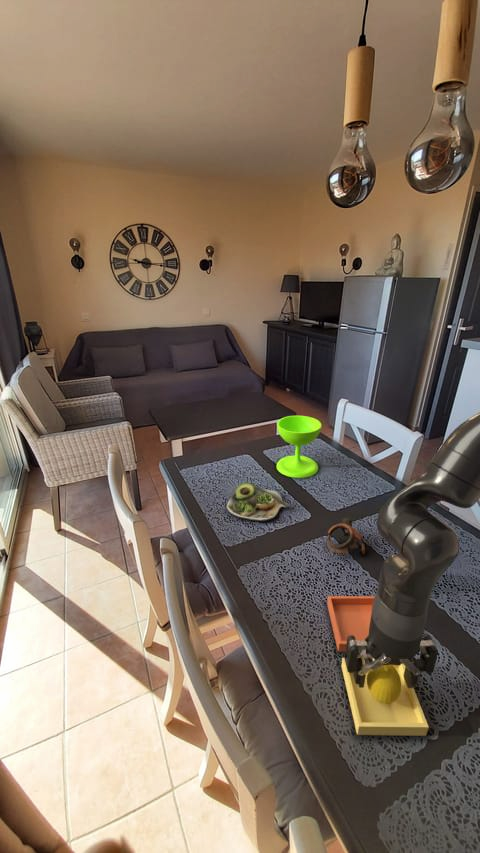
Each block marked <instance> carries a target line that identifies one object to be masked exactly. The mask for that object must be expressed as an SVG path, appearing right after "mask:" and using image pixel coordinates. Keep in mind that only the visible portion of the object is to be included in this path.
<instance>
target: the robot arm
mask: <svg viewBox="0 0 480 853" xmlns="http://www.w3.org/2000/svg"><path fill="white" fill-rule="evenodd" d="M479 500H480V412H478V413H476V414H474V415H472V416H471V417H469V418H467V419H466V420H465V421H463V422H462V423H461V424H460V425H458V426H457V427H456V428H455V429H454V430H452V432H450V434H449V435H448V436H447V438H446V439H445V441H444V442H443V443H442V445H441V446H440V447H439V449H438V450H437V452H436V453H435V454H434V456H433V457H432V459H431V461H430V462H429V463H428V465H427V466H426V468H425V469H424V470H423V471H422V472H421V473H420V474H418V475H417V476H415V478H414V479H412V480H411V481H410V482H409V483H407V484H406V486H404V487H403V488H402V489H401V490H399V491H398V492H397V493H395V494H394V495H393V496H392V497H390V498H389V499H388V500H387V501H386V502H385V503H384V504H383V506H382V507H381V508H380V509H379V510H380V511H379V512H378V515H377V520H376V527H377V528H376V529H377V531H378V534H379V535H380V536H381V538H382V539H383V540H384V541H385V542H386V543H387V544H389V545H390V546H391V547H392V548H393V549H394V550H395V551H396V552H398V553H393V554H390V555H389V556H387V557H386V558H385V559H384V560H383V562H382V565H381V568H380V573H379V578H378V585H377V589H376V592H375V595H374V596H375V597H374V602H373V605H372V614H371V620H370V625H369V635H368V636H367V637H366V639H365V641H362V640H355V637H354V636H353V635H350V636H348V638H347V643H346V649H345V652H344V655H343V658H345V663H346V667H347V671H348V672H349V673H353V676H354V679H355V683H356V684H358V686H359V688H364V683H365V677H366V673H367V672H369V671H370V670H372V671H375V670H377V669H378V668H379V667H381V666H382V665H401V664H404V665H405V671H404V679H405V682H406V685H407V687H408V688H414V686H416V684H418V680H419V676H422V673H423V672H425V673H426V674H428V675H429V674H433V673H434V670H435V666H436V663H437V659H438V655H439V649H438V648H437V646H436V644H435V642H434V640H433V638H432V636H431V635H425V636H424V633H425V632H424V631H425V628H426V624H427V620H428V609H429V605H430V601H431V597H432V593H433V589H434V588H435V586H436V585H437V583H438V582H439V580H440V579H441V578H442V576H443V575H444V573H445V572H446V571H447V570H448V569H449V568H450V567H451V566H452V564H453V563H454V562H455V561H456V559H457V558H458V556H459V553H460V540H459V537H458V535H457V532H456V531H455V530H454V528H453V527H451V525H449V524H448V523H446V522H445V521H444V520H442V519H441V518H439V517H438V516H437V515H435V514H434V513H433V512H431V511H430V510H429V508H430V507H431V506H433V505H435V504H437V503H439V502H446V503H447V504H450V505H452V506H454V507H456V508H457V507H458V508H461V509H470V508H471V507H473V506H475V504H476V503H477V502H478V501H479ZM423 636H424V637H423ZM418 654H419V658H416V657H415V656H416V655H418ZM372 658H374V659H375V660H374V661H373V659H372ZM364 660H365V664H364V665H363V663H362V662H363V661H364Z"/></svg>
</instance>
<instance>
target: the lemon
mask: <svg viewBox="0 0 480 853" xmlns="http://www.w3.org/2000/svg"><path fill="white" fill-rule="evenodd" d="M367 686H368V690H369V692H370V694H371V695H372V696H373V698H374V699H376V700H377V701H378V702H380V703H383V704H391V703H393V702H395V701H396V700H397V698H398V697H399V695H400V692H401V680H400V676H399V674H398V671H397V670H396V669H395V667H394V666H393V665H382V666H381V667H379V668H378V669H377V670H375V671H372V670H370V671H369V672H368V674H367Z"/></svg>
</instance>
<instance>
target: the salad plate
mask: <svg viewBox="0 0 480 853" xmlns="http://www.w3.org/2000/svg"><path fill="white" fill-rule="evenodd" d="M289 507H290V503H288V502H287V501H284V500H283V498H282V496H281V494H280V493H279V492H277V491H276V490H271V489H266V488H261V487H258V486H257V485H256V484H253V483H250V482H243V483H241V484H239V485H238V486H236V488H235V490H234V491H233V494H232V495H231V497H230V499H229V500H228V502H227V504H226V505H225V509H226V511H227V513H229V514H230V515H231V516H232V517H235V518H237V519H243V520H246V521H247V520H248V521H258V522H259V521H260V522H265V521H270V520H272V519H275V517H276V516H277V515H278V513H279V511H280V510H281V509H282V508H289Z"/></svg>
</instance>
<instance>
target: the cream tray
mask: <svg viewBox="0 0 480 853" xmlns="http://www.w3.org/2000/svg"><path fill="white" fill-rule="evenodd" d="M341 659H342V660H341V670H342V675H343V679H344V684H345V688H346V693H347V696H348V700H349V706H350V710H351V714H352V718H353V722H354V728H355V732H356V734H357V736H403V737H404V736H405V737H406V736H411V737H412V736H413V737H414V736H415V737H416V736H417V737H426V736H427V734H428V731H429V729H430V727H429V724H428V721H427V718H426V716H425V714H424V711H423V709H422V706H421V703H420V700H419V699H418V696H417V693H416V690H415V688H414V687H413V688H408V687H407V685H406V682H405V679H404V671H405V667H406V666H405V665H404V664H401V665H393V666H394V667H395V669H396V670H397V671H398V674H399V676H400V680H401V692H400V695H399V697H398V698H397V700H396V701H395V702H393V703H391V704H383V703H380V702H378V701H377V700H376V699H374V698H373V696H372V695H371V694H370V692H369V690H368V686H367V674H368V672H367V673H366V677H365V683H364V688H359V686H358V684H356V683H355V679H354V676H353V673H349V672H348V671H347V667H346V663H345V658H344V657H342V658H341ZM372 659H373V661H374V660H375V659H374V658H373V657H372ZM362 663H363V665H364V664H365V660H364V661H363V662H362Z"/></svg>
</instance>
